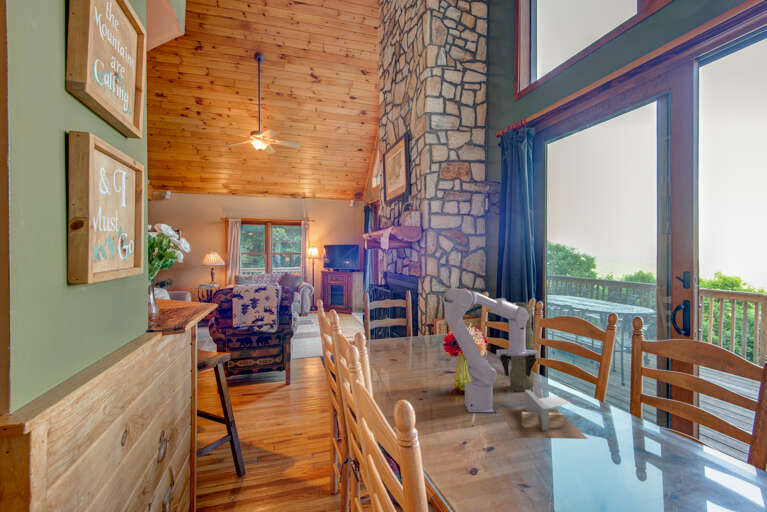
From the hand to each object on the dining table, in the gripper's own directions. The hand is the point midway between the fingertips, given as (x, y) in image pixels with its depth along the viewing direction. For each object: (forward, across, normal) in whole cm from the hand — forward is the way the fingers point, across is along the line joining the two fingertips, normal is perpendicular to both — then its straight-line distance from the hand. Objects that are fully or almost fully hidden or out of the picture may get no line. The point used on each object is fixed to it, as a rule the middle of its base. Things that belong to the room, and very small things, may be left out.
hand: (517, 375), depth 128 cm
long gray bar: (+9, +1, -15) cm, 17 cm away
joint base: (+10, +1, -17) cm, 20 cm away
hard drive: (+11, +13, -1) cm, 17 cm away
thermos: (+10, +6, +13) cm, 18 cm away
